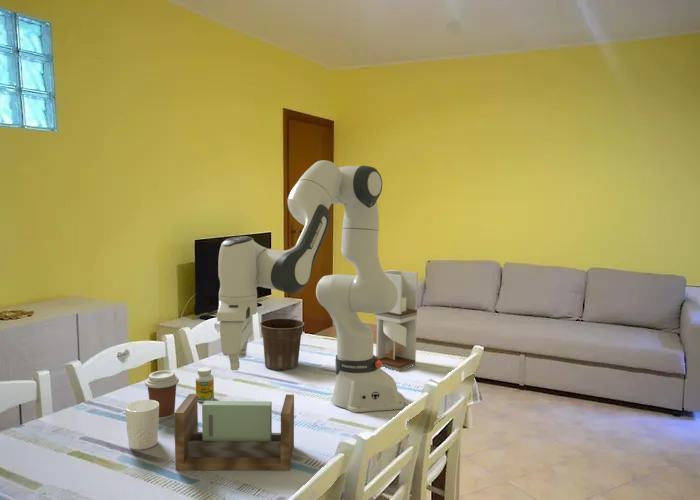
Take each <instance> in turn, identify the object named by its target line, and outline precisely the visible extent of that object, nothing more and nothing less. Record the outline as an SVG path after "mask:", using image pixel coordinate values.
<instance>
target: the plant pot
mask: <svg viewBox="0 0 700 500" xmlns="http://www.w3.org/2000/svg"><path fill="white" fill-rule="evenodd" d="M259 326H260V328H261V335H262V343H263V356H264V357H263V358H264V366H265V368H267V369H269V370H273V371H279V370H283V371H288V370H294V369H297V367H298V365H299V359H300V349H301V348H300V347H301V339H302V335H303V329H304V326H305V322H304V321H302V320H299V319H297V318H296V319H295V318H285V317H283V318H269V319H265V320H261V322H260V323H259Z"/></svg>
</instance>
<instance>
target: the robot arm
mask: <svg viewBox="0 0 700 500" xmlns="http://www.w3.org/2000/svg"><path fill="white" fill-rule="evenodd" d="M382 191H383V178H382V175H381V174H380V172H379V170H378V169H377V168H376V167H373V166H371V165H365V164H364V165H363V164H362V165H343V166H339V167H338V165H337V164H335V163H334V162H333V161H330V160H325V159H323V160H322V159H321V160H318V161H316V162H314V163H313V164H312V165H311V166H310V167H309V168H307V170H306V171H305V172H304V173H303V174H301V176H300V177H299V179H298V181H297V182H296V183H295V184H294V185H293V187H292V189H291V190H290V192H289V194H288V197H287V208H288V211H289V213H290V214H291V216H292V217H293V218H294V219H295V220H296V221H297V223H299V224H301V225H303V226H304V227H303V228H302V230H301V233H300V235H299V237H298V239H297V241H296V243H295V245H294V246H293V247H291V248H289V249H286V250H282V249H273V248H267V247H265V246H262V245H260V244H259V243H257V242H256V241H255V240H254V238H253V237H251V236H246V235H242V236H241V235H240V236H233V237H232V236H231V237H229V238H226V239H225V240H224V241H223V242H221V244H220V248H219V251H218V252H219V253H218V260H217V261H218V267H217V270H218V271H217V272H218V280H219V291H218V309H217V313H216V320H217V322H219V336H220V338H219V339H220V347H221V352H222V355H223V356H225V357H227V356H228V360H229V362H230V370H231V371H238V370H239V368H240V361H239V359H241V358H243V359H244V358H246V356H247V355H248V353H247V349H248V341H249V339H250V337H251V336H252V334H253V328H254V325H253V316H254V315H256V314H257V313H258V290H257V288H258V287H261V288H264V289H270V290H275V291H280V292H283V293H287V294H291V295H292V294H293V295H294V294H297V293H299V292H300V291H302V290H303V289H304V288H305V287H306V286H307V285H308V283H309V281H311V280H310V279H311V277H312V272H313V267H314V264H315V262H316V261H315V260H317V259H316V258H317V256H318V254H319V252H320V249H321V246H322V245H323V242H324V239H325V237H326V235H327V232H328V230H329V226H330V223H331V213H330V210H329V209H330V207H331V205H342V206H343V207H344V213H343V218H342V219H343V220H342V230H341V242H340V243H341V245H340V252H341V255H342V257H343V258H344V259H345V260H346V261H347V262H349V263H351V264H352V265H353V266H354V268H355V271H356V275H355V274H353V275H352V274H341V273H340V274H339V273H336V274H327V275H324V276H322V277H321V278H320V279H319V281H318V282H317V284H316V288H315V296H316V299H317V302H318V304H319V305H320V306H322V307H323V308H324V309H325V310H326V312H327V313H328V314H329V316H330V318H331V320H332V322H333V324H334V328H335V331H336V345H337V346H336V348H337V349H336V350H337V351H336V353H337V354H336V355H335V359H334V361H335V362H334V363H335V365H334V367H335V374H336V375H335V382H334V388H333V389H334V390H333V393H332V396H331V403H332V404H333V405H335V406H337V407H339V408H343V409H346V410H348V411H349V412H353V413H363V412H365V413H366V412H377V411H378V412H379V411H390V410H391V411H393V409H394V410H401V409H403V408H404V407H405V402H406V401H405V396H404V395H403V393H401V392H400V391H399V390H398V386H397V383H396V381H395V379H394V378H393V377H392V375H390V374H388V373H387V372H386V371H384V370H383V369H382V368H383V367H382V362H381V361H380V359H379V358H378V356H377V355H376V354H375V355H374V332H373V329H372V328H371V327H370V326H369V325H368V324H367V323H365V322H364V321H362V320H361V318H360V316H359V315H358V313H364V314H374V315H375V314H376V313H386V312H390V311H391V310H392V309H393V308H394V307H395V305H396V303H397V300H398V291H397V288H396V286H395V284H394V283H393V282H392V281H391V280H390V279H389V278H388V277H387V276H386V274H385V273H384V271H385V270H383V268H382V265H381V262H380V259H379V225H380V223H379V222H380V217H379V208H378V207H379V206H378V199H379V198H380V196H381V194H382V193H381V192H382Z"/></svg>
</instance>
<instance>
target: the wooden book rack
mask: <svg viewBox="0 0 700 500" xmlns="http://www.w3.org/2000/svg"><path fill="white" fill-rule="evenodd" d="M198 413H199V411H198V401H197V394H196V393H189V394H187V396H186V397H185V399H184V400H183V401H182V402H181V404H180V405H179V407H177V409H175V413H174V416H173V417H174V454H175V455H174V456H175V458H174V459H175V460H174V463H175V467H174V468H175V471H283V472H284V471H285V472H286V471H287V472H288V471H290V469H291V463H292V459H293V454H294V447H295V394H285V398H284V400H283V405H282V408H281V410H280V432H272V441H203V435H202V431H200V432H199V420H198V419H199V418H198Z"/></svg>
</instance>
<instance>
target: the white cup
mask: <svg viewBox="0 0 700 500" xmlns="http://www.w3.org/2000/svg"><path fill="white" fill-rule="evenodd" d="M125 418H126V419H125V420H126V431H127V437H128V438H127V439H128V446H129V448H130V449H132V450H138V451H140V450H146V449H150V448H153V447H154V446H156V445H157V443H158V442H159V441H158V440H159V439H158V438H159V437H158V436H159V433H158V432H159V423H160V422H159V421H160V420H159V403H158V402H157V401H154V400H149V399H141V400H136V401H133V402H130V403H128V404H127V405H126V406H125Z"/></svg>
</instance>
